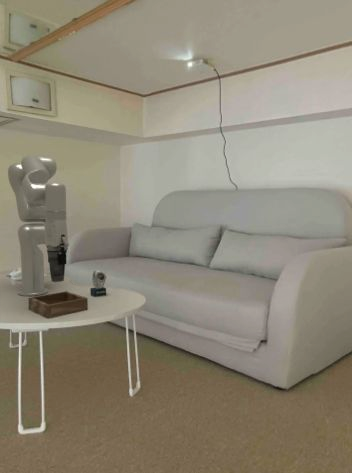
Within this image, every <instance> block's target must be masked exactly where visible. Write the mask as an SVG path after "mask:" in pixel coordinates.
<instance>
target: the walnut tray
mask: <svg viewBox="0 0 352 473" xmlns="http://www.w3.org/2000/svg"><path fill="white" fill-rule="evenodd" d="M88 299H89V298H88V297H85V296H82V295H80V294H76V293H73V292H71V291H67V290H65V291H59V292H55V293H49V294H42V295H36V296H32V297H31V296H30V297H28V310H30V311H31V312H33V313H36V314H37V315H40V316H42V317H44V318H46V319H52V318H58V317H62V316H65V315H71V314H74V313H75V314H76V313H78V312H85V311H88V308H89V306H88V303H89V302H88V301H89V300H88Z"/></svg>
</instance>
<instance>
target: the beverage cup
mask: <svg viewBox="0 0 352 473" xmlns="http://www.w3.org/2000/svg"><path fill="white" fill-rule="evenodd" d="M59 246H61V245H59ZM60 249H62V248H60ZM46 252H47V258H48V257H49V262H48V263H49V264H48V265H49V272H50V280H51V282H53V283H59V282H64V281H65V272H66V271H65V270H66V264H64V265H58V254H59V252H58V249H57V247H52V246H51V245H48V248H47V247H46Z"/></svg>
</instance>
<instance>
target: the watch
mask: <svg viewBox="0 0 352 473" xmlns="http://www.w3.org/2000/svg"><path fill="white" fill-rule="evenodd" d="M91 280H92V285H93V287H91V288H90V290H89V291H90V296H92V297H94V298H96V297H102V296H103V295H104V296H107V288H106V287H104V286H105V284H106V280H107V275H106V273H105V272H103V271H102V270H99V269H98V270H93V273H92V278H91Z"/></svg>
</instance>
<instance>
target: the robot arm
mask: <svg viewBox="0 0 352 473" xmlns="http://www.w3.org/2000/svg"><path fill="white" fill-rule="evenodd" d="M57 166H58V165H57V162H56V160H55V159H54V158H53V157H52V156H49V155H48V156H47V155H46V156H45V155H35V154H30V155H29V154H28V155H26V156H24V157H22V159H21V161H20V162H19V163H12V164H11V165H9V166H8V169H7V177H8V182H9V184H10V188H11V189H12V191H13V193H14V195H15V201H16V206H17V215H18V219H19V220H20V221H21V222H23V223H24V224H22V225H20V226H19V227H18V230H17V236H18V242H19V246H20V265H21V289H20V290H18V291H17V292H18V295H19V296H23V297H24V296H25V297H31V296H32V297H36V296H43V295H46V294H47V293H48V292H49V289H48V288H47V287H45V264H44V260H45V259H44V257H45V256H44V253H43V251H42V250H41V248H39V246H38V245H45V246H46V249H47V248H48V245H51V246H52V247H57V249H58V252H59V254H58V265H64V264H65V265H66V264H67V255H68V250H69V246H70V244H69V239H68V227H67V226H68V224H67V189H66V188H67V187H66V185H65V184H63V183H61V182H60V183H57V182H56V183H55V182H54V183H53V182H49V181H50V179H51V178H53V177H54V175H56V172H57V168H58V167H57ZM48 182H49V183H48ZM59 245H61V246H59ZM60 248H62V249H60ZM47 262H48V263H49V257H48V256H47Z"/></svg>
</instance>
